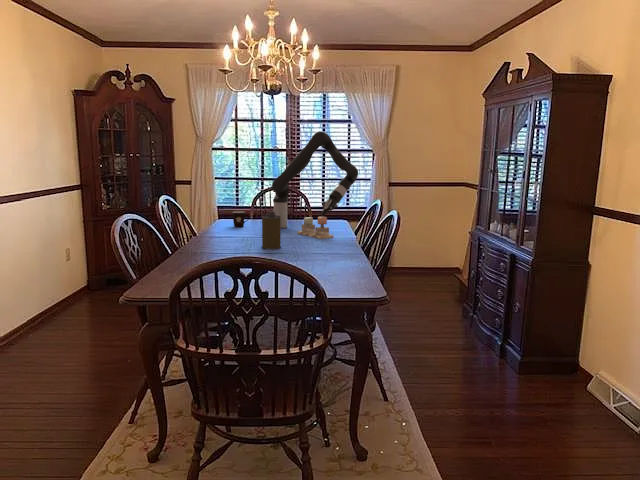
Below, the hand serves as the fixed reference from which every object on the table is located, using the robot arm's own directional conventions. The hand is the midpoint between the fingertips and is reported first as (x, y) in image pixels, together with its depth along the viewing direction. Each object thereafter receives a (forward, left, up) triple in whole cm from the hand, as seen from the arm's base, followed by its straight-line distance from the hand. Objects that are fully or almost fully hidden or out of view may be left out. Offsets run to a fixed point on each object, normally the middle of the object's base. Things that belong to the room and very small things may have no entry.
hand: (322, 214), depth 319 cm
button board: (-4, +6, -14) cm, 16 cm away
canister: (-29, -33, -14) cm, 47 cm away
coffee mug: (-54, +37, -14) cm, 67 cm away
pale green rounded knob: (-9, +11, -11) cm, 18 cm away
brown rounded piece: (0, 0, -8) cm, 8 cm away
